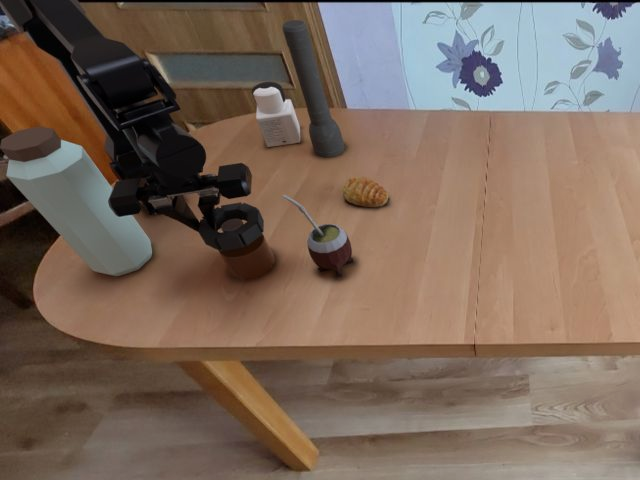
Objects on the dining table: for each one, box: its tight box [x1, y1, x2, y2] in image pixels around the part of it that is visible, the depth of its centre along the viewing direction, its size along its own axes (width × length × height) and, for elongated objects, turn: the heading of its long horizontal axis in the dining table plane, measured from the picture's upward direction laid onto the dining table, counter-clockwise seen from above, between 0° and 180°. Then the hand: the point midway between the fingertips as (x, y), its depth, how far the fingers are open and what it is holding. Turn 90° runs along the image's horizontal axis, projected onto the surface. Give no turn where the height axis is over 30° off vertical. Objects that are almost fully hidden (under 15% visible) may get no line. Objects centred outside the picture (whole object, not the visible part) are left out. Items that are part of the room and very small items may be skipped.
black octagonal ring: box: [197, 202, 265, 251], centre depth 79 cm, size 9×9×2 cm
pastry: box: [341, 176, 389, 208], centre depth 98 cm, size 9×7×4 cm
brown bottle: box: [217, 219, 276, 280], centre depth 82 cm, size 8×8×10 cm
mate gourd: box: [281, 193, 354, 278], centre depth 80 cm, size 8×8×15 cm
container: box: [251, 81, 301, 148], centre depth 110 cm, size 8×8×13 cm
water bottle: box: [0, 125, 153, 277], centre depth 76 cm, size 10×10×25 cm
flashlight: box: [282, 19, 346, 158], centre depth 101 cm, size 7×28×7 cm
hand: (208, 229), depth 78 cm, fingers closed on black octagonal ring, 2 cm apart
